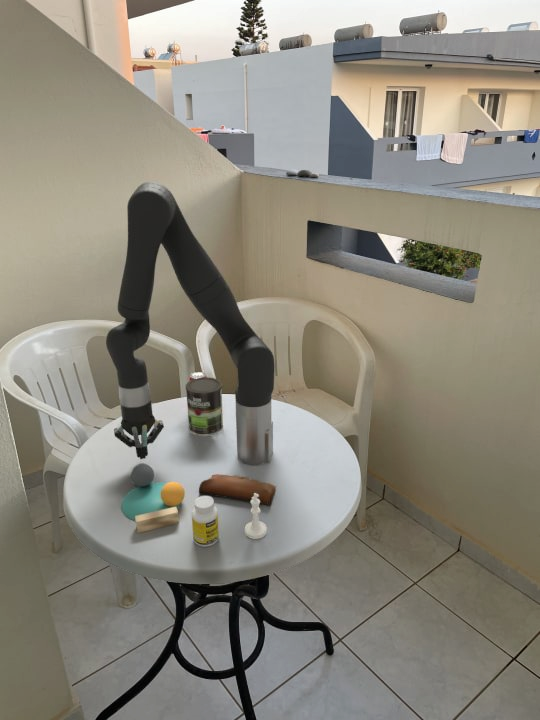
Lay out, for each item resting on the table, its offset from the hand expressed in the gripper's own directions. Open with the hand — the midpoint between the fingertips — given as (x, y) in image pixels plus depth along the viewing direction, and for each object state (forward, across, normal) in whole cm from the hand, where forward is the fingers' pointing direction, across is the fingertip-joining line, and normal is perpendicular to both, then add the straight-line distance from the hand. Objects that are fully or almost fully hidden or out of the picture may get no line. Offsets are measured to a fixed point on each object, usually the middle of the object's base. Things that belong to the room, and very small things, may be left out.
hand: (142, 457), depth 133 cm
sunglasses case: (+2, -20, +20) cm, 29 cm away
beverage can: (+2, -20, -23) cm, 31 cm away
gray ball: (-1, +1, +10) cm, 10 cm away
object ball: (-1, -5, +20) cm, 20 cm away
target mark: (+2, 0, +17) cm, 17 cm away
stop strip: (+2, 0, +26) cm, 26 cm away
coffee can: (+2, -20, -11) cm, 23 cm away
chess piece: (+2, -20, +35) cm, 40 cm away
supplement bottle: (+2, -9, +33) cm, 34 cm away
